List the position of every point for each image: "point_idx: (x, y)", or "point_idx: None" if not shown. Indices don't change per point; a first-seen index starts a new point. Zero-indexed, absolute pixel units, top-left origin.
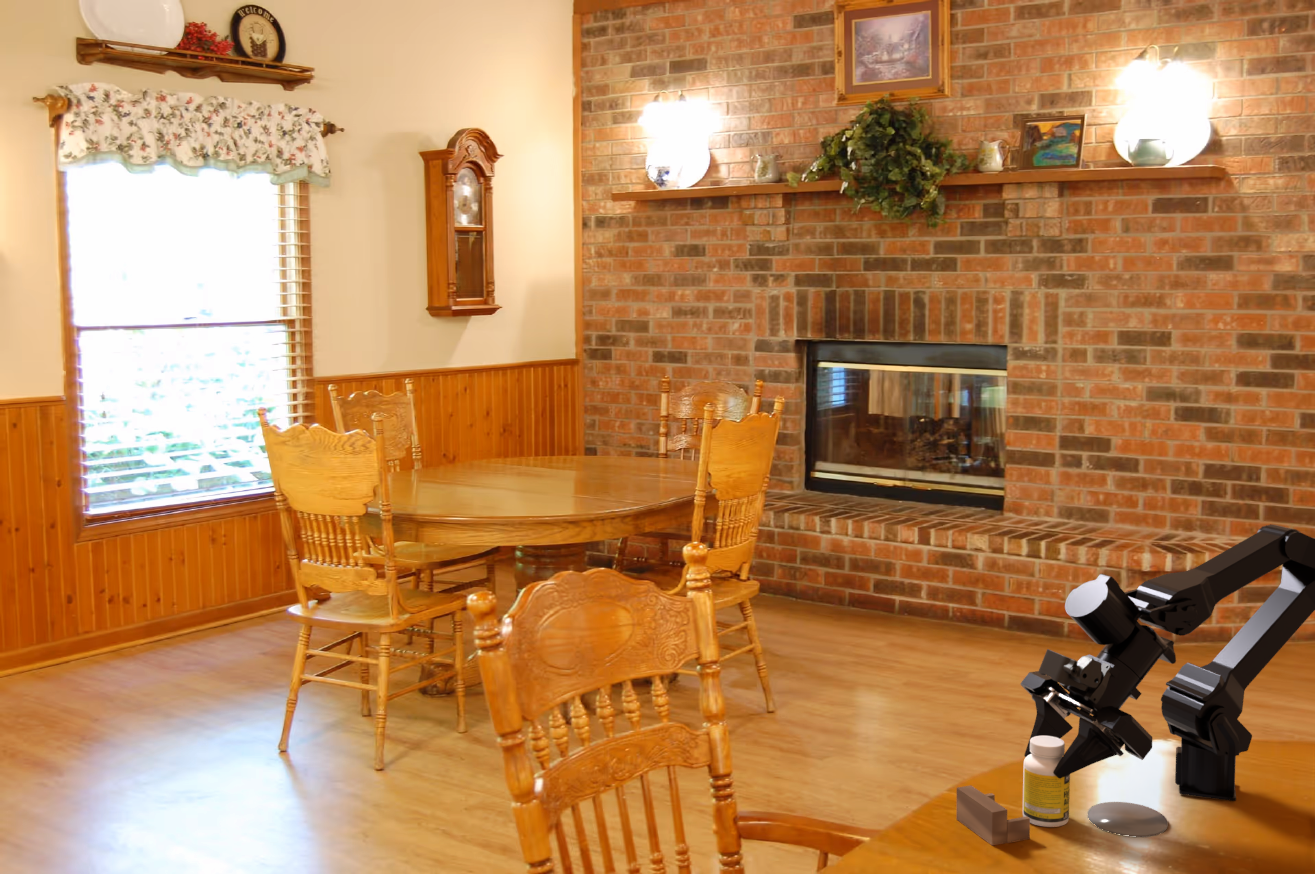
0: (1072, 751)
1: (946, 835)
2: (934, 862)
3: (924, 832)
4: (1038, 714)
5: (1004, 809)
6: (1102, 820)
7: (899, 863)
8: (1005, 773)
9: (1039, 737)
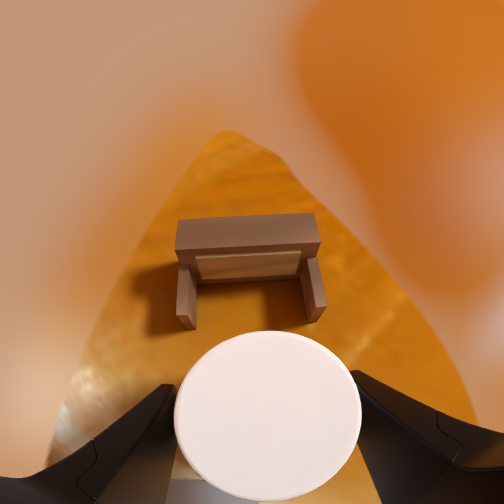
0: (100, 442)
1: (250, 215)
2: (183, 177)
3: (269, 196)
4: (495, 440)
5: (177, 245)
6: (197, 498)
7: (200, 151)
8: (462, 411)
9: (336, 405)
